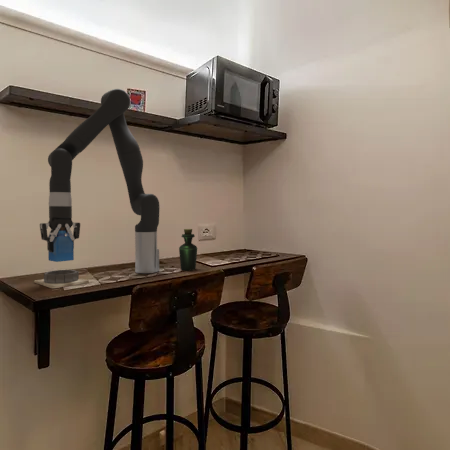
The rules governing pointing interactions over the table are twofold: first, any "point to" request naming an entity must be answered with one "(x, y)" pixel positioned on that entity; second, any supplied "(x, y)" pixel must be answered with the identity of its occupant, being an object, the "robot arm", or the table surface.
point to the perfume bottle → (62, 248)
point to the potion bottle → (188, 252)
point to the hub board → (81, 281)
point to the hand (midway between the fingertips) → (61, 251)
